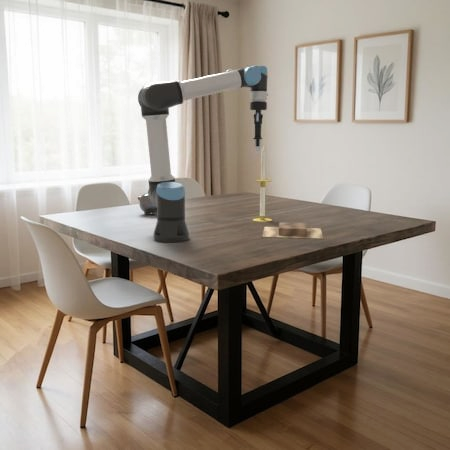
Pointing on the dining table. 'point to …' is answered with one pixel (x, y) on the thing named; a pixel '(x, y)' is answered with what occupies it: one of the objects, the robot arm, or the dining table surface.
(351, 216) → the dining table surface
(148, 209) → the piggy bank
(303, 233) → the panel
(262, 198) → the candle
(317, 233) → the light wooden board
